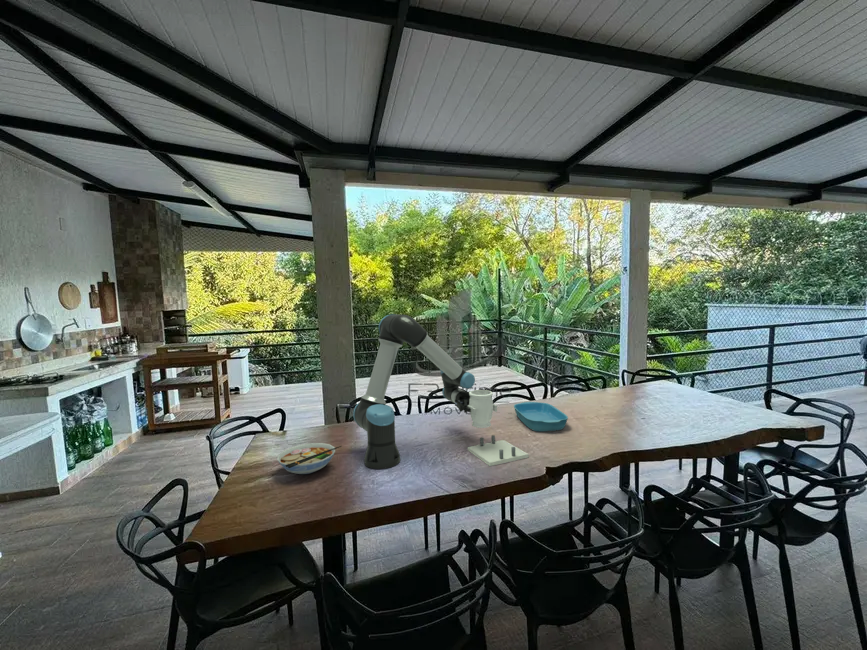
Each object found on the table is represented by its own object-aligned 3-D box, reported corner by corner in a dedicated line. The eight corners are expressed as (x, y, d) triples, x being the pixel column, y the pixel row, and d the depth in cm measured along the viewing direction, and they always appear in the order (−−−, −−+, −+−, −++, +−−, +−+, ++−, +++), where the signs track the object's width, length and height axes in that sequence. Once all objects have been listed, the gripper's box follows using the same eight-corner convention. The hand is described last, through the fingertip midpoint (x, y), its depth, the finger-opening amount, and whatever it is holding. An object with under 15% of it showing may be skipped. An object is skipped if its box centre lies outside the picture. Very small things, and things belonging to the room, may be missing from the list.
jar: (468, 428, 169) (467, 395, 168) (470, 420, 179) (470, 389, 178) (492, 429, 167) (492, 395, 166) (493, 421, 177) (493, 389, 176)
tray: (489, 466, 156) (489, 454, 156) (467, 450, 173) (467, 439, 173) (528, 457, 163) (528, 446, 163) (503, 442, 181) (503, 432, 180)
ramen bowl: (317, 454, 175) (316, 436, 175) (349, 466, 161) (348, 447, 160) (264, 474, 156) (263, 454, 155) (295, 490, 141) (293, 468, 141)
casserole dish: (575, 433, 191) (575, 419, 191) (531, 436, 189) (531, 422, 189) (546, 412, 228) (545, 400, 227) (509, 414, 226) (509, 402, 225)
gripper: (481, 402, 194) (507, 414, 173) (441, 409, 184) (463, 422, 164) (481, 387, 193) (507, 398, 173) (440, 393, 184) (463, 405, 164)
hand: (486, 410), depth 168 cm, fingers closed on jar, 10 cm apart
